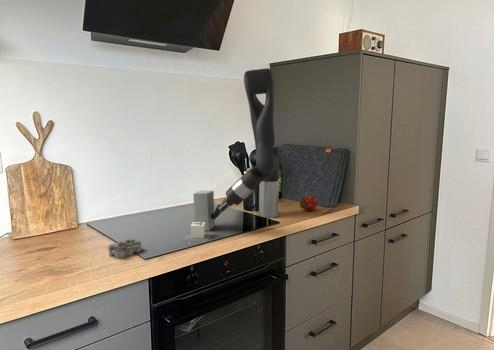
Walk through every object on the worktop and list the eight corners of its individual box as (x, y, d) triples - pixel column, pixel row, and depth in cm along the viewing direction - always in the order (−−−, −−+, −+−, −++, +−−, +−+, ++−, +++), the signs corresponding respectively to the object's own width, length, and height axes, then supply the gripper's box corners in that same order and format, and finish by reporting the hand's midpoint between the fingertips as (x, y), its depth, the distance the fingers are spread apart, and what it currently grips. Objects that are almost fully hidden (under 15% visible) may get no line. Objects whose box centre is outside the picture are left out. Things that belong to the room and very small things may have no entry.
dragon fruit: (299, 215, 182) (313, 214, 190) (311, 207, 177) (326, 207, 185) (293, 200, 185) (307, 200, 194) (305, 192, 180) (319, 192, 188)
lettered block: (193, 234, 146) (192, 221, 145) (205, 234, 146) (205, 221, 145) (190, 238, 141) (190, 225, 140) (203, 238, 141) (203, 225, 140)
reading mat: (190, 232, 149) (190, 231, 149) (214, 233, 147) (214, 233, 147) (181, 240, 139) (181, 239, 139) (206, 241, 138) (206, 241, 137)
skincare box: (209, 231, 149) (208, 193, 147) (193, 230, 151) (192, 192, 149) (215, 225, 158) (215, 190, 155) (200, 224, 159) (199, 189, 157)
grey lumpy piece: (118, 260, 119) (117, 248, 119) (105, 255, 124) (104, 243, 123) (145, 251, 128) (144, 239, 127) (132, 246, 132) (131, 235, 131)
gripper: (239, 181, 153) (213, 207, 159) (227, 186, 141) (199, 214, 147) (251, 194, 152) (224, 220, 158) (240, 201, 140) (211, 228, 146)
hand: (212, 217), depth 152 cm, fingers closed
